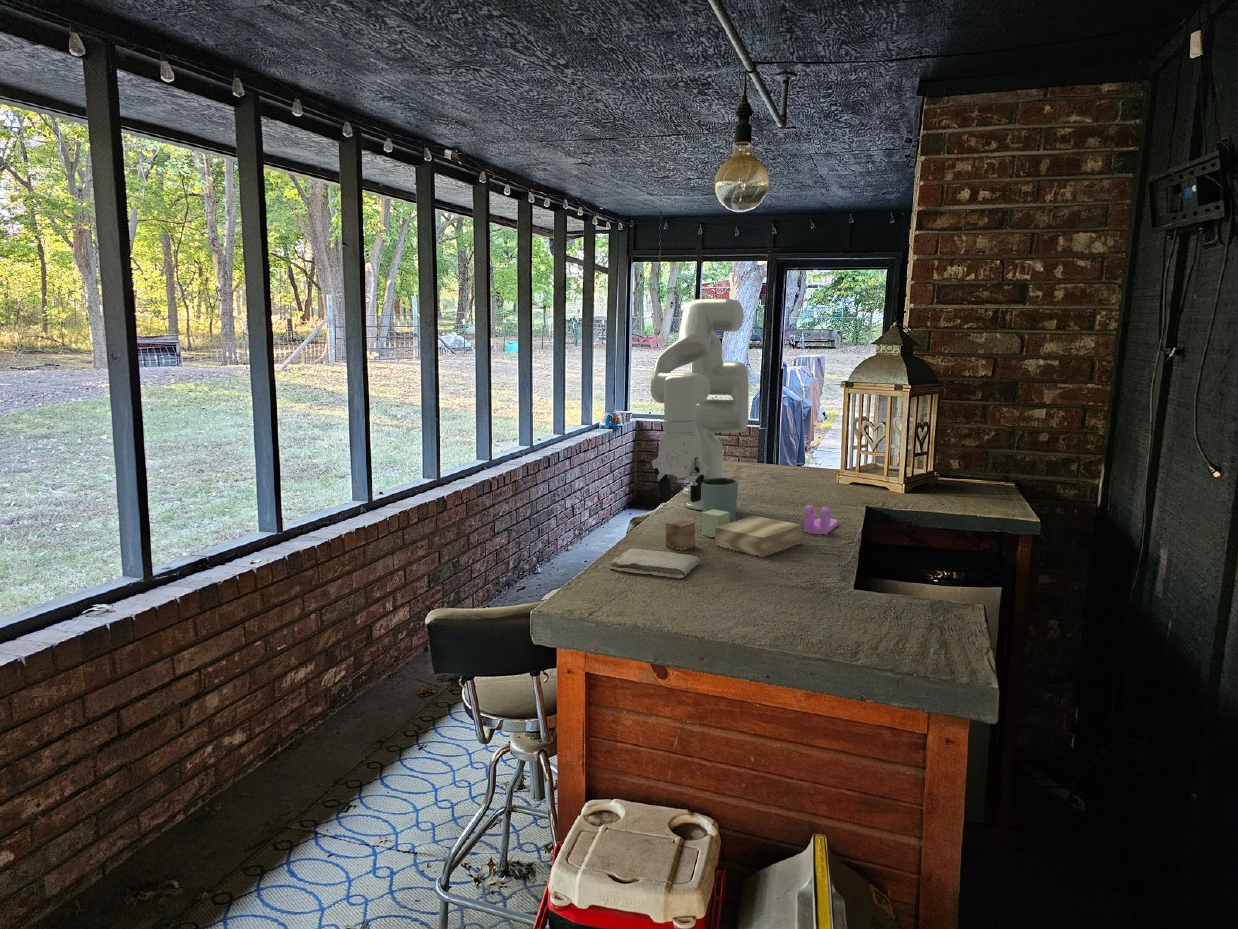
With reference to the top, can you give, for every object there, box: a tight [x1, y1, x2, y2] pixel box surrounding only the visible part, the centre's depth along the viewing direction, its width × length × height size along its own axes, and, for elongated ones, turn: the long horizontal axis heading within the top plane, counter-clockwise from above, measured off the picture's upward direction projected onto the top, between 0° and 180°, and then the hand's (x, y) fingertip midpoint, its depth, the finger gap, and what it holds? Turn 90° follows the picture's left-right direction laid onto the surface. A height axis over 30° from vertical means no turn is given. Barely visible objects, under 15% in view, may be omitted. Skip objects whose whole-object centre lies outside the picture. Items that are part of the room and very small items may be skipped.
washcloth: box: [609, 548, 700, 577], centre depth 172 cm, size 12×18×3 cm, turn 68°
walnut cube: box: [665, 518, 696, 549], centre depth 188 cm, size 5×5×6 cm
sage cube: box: [701, 509, 730, 538], centre depth 197 cm, size 5×5×6 cm
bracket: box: [803, 504, 838, 535], centre depth 203 cm, size 13×6×7 cm, turn 148°
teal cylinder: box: [701, 476, 739, 523], centre depth 207 cm, size 10×10×12 cm
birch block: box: [714, 515, 803, 558], centre depth 189 cm, size 14×16×5 cm
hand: (680, 498), depth 186 cm, fingers open, 9 cm apart
